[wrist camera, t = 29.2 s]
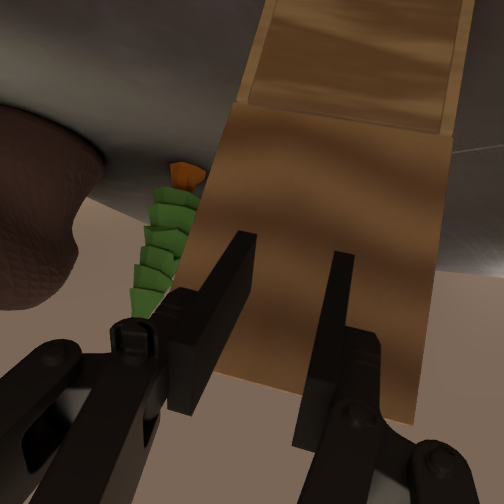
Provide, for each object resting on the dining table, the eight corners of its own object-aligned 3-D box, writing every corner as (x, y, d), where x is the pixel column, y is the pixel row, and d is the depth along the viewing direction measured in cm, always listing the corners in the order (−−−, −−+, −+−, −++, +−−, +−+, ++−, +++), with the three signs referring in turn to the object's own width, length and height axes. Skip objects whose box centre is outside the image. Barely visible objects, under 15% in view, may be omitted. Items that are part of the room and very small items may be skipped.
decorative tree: (181, 152, 69) (119, 345, 62) (230, 178, 74) (178, 359, 67) (155, 165, 77) (98, 337, 70) (201, 187, 82) (152, 350, 75)
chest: (421, 110, 44) (400, 220, 42) (287, 90, 47) (260, 193, 44) (479, -24, 29) (453, 134, 27) (278, -43, 32) (235, 100, 29)
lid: (409, 426, 22) (413, 426, 21) (152, 356, 24) (148, 354, 24) (449, 144, 27) (454, 136, 26) (234, 109, 29) (232, 102, 29)
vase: (-89, 74, 66) (-185, 265, 60) (87, 122, 67) (12, 317, 60) (-2, 153, 93) (-61, 292, 86) (124, 186, 93) (75, 328, 86)
